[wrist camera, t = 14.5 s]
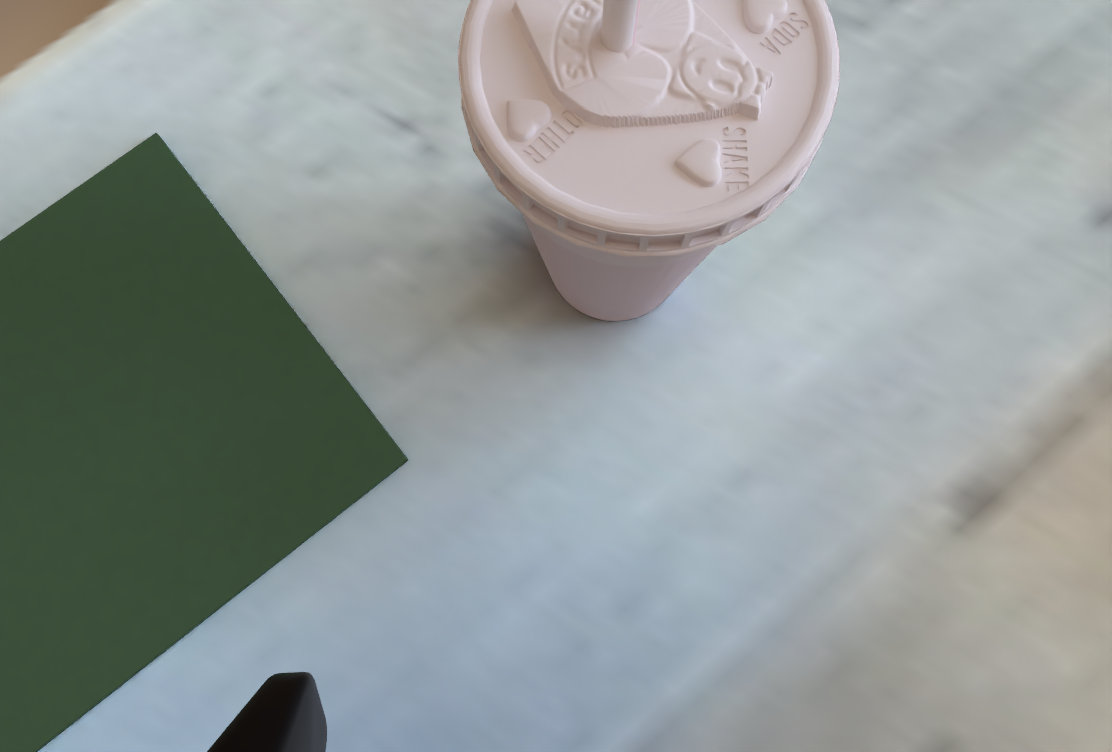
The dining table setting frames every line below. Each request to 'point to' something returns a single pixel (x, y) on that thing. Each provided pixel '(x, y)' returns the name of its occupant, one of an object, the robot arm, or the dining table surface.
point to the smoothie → (644, 129)
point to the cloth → (150, 435)
